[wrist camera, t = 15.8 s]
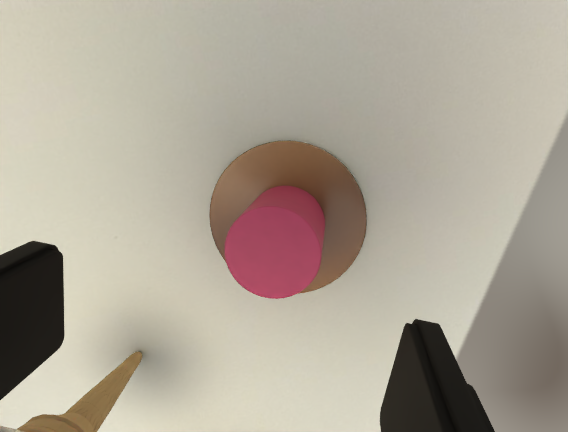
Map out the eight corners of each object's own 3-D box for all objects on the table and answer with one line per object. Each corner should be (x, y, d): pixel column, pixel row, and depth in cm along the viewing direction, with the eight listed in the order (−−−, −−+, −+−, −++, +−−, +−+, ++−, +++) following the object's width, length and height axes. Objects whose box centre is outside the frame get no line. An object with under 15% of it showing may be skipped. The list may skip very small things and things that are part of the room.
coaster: (182, 199, 23) (178, 201, 23) (305, 106, 21) (305, 106, 20) (271, 315, 24) (269, 319, 24) (397, 240, 22) (398, 243, 21)
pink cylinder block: (233, 213, 22) (204, 240, 18) (295, 169, 21) (282, 186, 16) (277, 273, 23) (261, 315, 18) (340, 233, 22) (341, 268, 17)
